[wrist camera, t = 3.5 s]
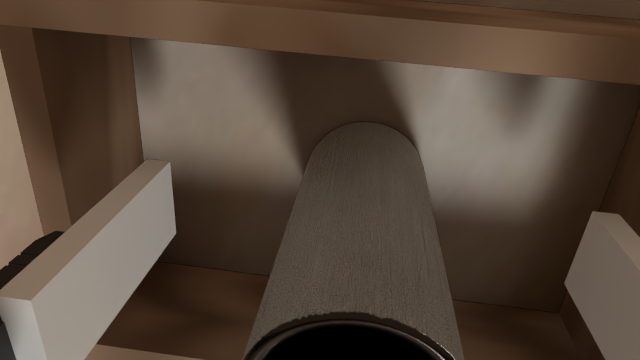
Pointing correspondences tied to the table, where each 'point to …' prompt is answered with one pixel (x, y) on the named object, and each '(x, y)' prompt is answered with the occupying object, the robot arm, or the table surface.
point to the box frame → (291, 36)
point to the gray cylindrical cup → (359, 260)
